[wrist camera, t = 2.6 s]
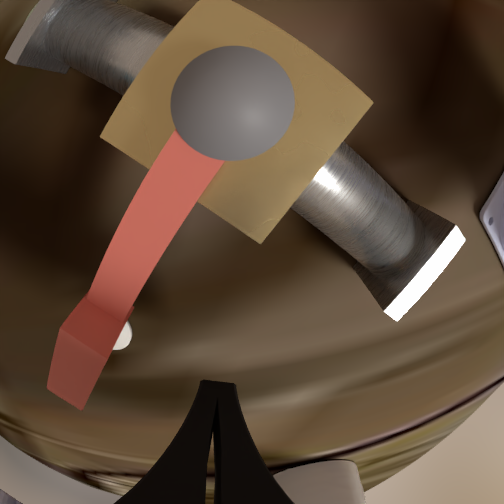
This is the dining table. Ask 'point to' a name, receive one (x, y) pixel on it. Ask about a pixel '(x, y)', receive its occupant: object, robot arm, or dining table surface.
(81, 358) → the lever
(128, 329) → the white flattened pebble
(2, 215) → the dining table surface
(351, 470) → the toilet tissue
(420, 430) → the dining table surface
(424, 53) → the dining table surface
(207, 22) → the valve body
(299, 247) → the dining table surface
